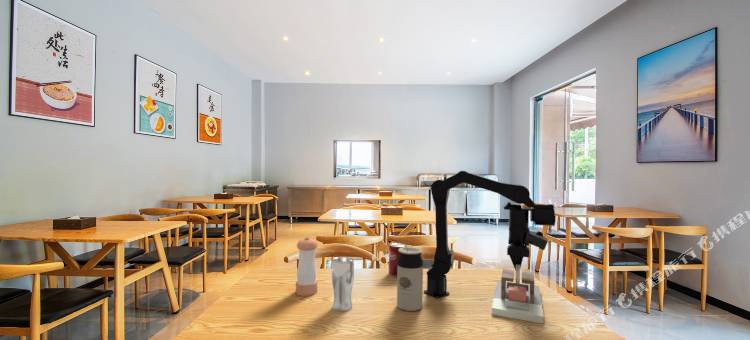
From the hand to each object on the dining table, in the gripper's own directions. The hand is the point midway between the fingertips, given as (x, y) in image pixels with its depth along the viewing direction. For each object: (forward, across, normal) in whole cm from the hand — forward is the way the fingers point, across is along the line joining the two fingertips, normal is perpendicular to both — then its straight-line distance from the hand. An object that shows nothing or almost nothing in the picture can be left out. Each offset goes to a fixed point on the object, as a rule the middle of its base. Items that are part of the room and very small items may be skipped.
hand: (517, 271), depth 110 cm
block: (+8, -6, 0) cm, 10 cm away
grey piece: (+8, -6, 0) cm, 10 cm away
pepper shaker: (+11, -20, +68) cm, 71 cm away
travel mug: (+11, -16, +31) cm, 37 cm away
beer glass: (+11, -26, +50) cm, 58 cm away
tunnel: (+8, +2, 0) cm, 9 cm away
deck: (+10, +2, 0) cm, 11 cm away
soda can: (+11, +12, +45) cm, 48 cm away
